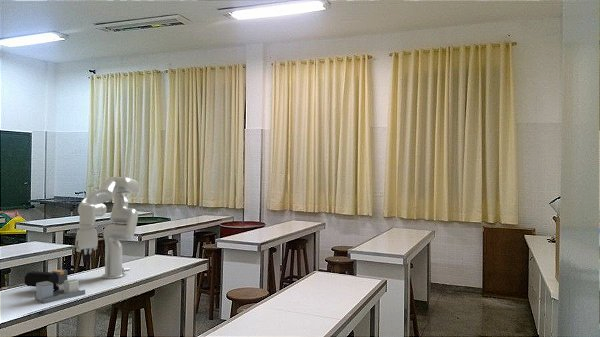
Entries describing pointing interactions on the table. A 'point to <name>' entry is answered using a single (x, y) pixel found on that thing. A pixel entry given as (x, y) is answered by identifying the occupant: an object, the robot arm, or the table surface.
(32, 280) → the security camera
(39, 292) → the mounted module
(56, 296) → the gray flat slab
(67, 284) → the block
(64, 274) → the relay block
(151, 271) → the table surface
